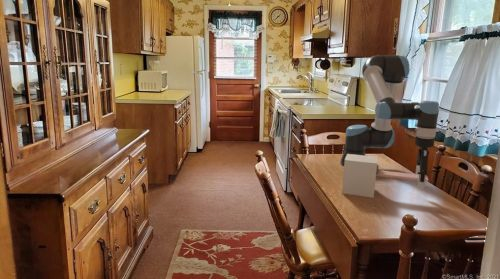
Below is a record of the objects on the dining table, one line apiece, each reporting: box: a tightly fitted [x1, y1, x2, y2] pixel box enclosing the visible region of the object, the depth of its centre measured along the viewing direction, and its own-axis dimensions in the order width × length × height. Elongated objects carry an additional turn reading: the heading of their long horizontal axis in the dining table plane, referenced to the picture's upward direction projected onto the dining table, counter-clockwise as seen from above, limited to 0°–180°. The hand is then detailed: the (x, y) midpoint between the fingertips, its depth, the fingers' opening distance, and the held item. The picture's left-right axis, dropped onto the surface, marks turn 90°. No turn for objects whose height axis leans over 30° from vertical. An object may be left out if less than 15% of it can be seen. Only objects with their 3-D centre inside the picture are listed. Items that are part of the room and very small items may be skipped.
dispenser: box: [341, 154, 379, 198], centre depth 172 cm, size 12×15×16 cm
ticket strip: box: [376, 169, 429, 183], centre depth 167 cm, size 6×24×1 cm, turn 70°
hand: (419, 183), depth 164 cm, fingers open, 13 cm apart
